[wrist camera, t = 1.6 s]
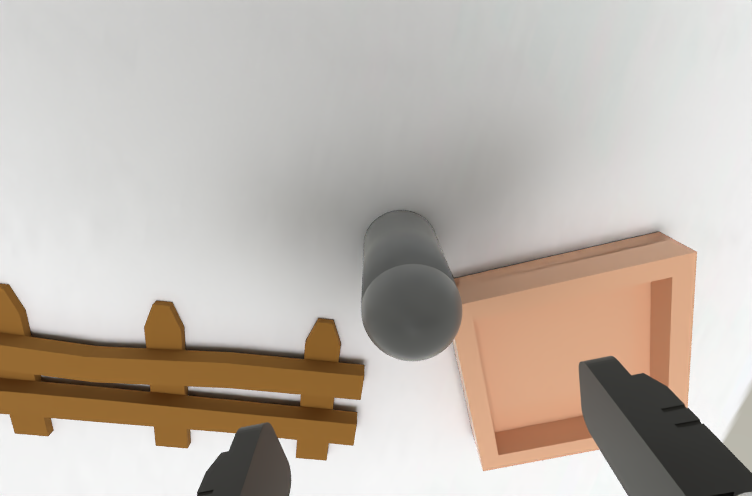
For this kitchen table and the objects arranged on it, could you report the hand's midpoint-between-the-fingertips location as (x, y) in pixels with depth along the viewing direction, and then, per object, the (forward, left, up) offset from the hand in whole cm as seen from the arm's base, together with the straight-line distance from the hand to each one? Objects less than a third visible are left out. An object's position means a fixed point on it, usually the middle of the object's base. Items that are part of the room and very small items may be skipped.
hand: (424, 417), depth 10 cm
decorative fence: (+4, -16, -12) cm, 20 cm away
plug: (0, 0, -11) cm, 11 cm away
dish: (+8, +7, -11) cm, 15 cm away
